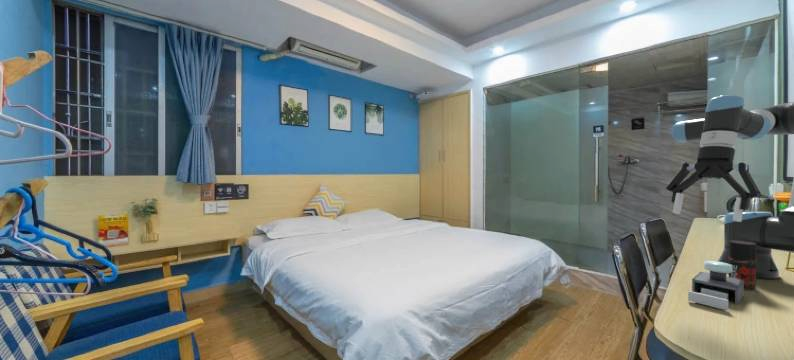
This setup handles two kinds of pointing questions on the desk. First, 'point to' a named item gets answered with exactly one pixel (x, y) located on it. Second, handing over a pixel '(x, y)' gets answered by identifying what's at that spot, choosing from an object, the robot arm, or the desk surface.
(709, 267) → the pale blue flat dome
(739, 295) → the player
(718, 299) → the tray
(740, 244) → the deodorant
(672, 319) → the desk surface
